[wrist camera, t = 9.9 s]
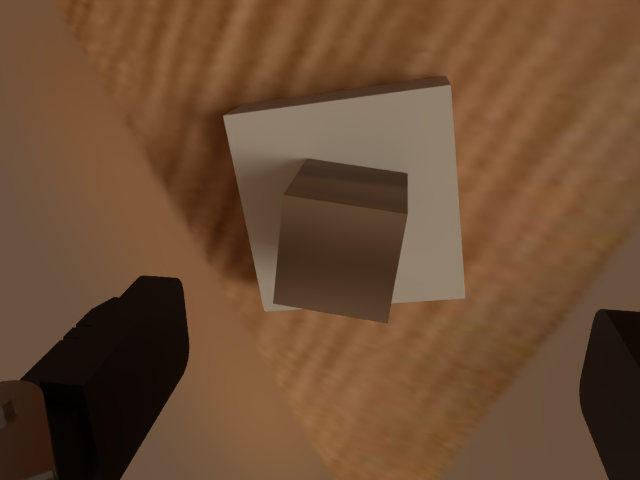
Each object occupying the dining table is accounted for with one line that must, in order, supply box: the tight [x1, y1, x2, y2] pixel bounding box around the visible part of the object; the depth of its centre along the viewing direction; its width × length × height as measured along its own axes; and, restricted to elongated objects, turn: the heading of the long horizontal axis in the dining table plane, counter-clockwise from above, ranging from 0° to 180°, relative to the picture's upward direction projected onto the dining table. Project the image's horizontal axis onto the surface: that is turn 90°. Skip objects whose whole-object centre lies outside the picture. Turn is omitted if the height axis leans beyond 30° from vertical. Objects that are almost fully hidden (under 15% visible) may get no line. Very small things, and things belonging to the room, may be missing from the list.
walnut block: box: [273, 158, 408, 323], centre depth 26 cm, size 5×5×6 cm
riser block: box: [223, 76, 465, 312], centre depth 31 cm, size 11×11×4 cm
